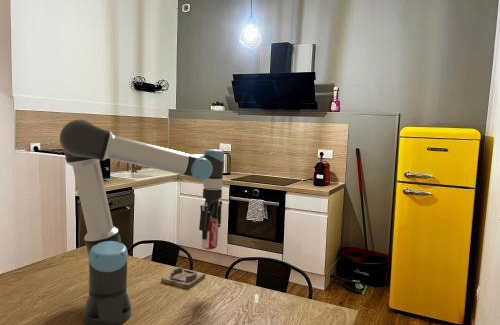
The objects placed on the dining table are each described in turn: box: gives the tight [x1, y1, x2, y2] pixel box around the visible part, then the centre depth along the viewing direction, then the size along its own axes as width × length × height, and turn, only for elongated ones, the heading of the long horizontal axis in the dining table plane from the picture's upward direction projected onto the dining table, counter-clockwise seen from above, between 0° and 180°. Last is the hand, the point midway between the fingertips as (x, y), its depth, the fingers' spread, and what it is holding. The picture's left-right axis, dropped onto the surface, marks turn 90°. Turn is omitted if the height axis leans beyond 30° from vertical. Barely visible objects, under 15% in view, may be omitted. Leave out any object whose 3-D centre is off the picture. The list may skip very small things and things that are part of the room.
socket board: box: [161, 266, 206, 290], centre depth 154 cm, size 13×13×3 cm
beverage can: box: [202, 217, 219, 251], centre depth 149 cm, size 6×6×12 cm
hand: (209, 244), depth 149 cm, fingers closed on beverage can, 6 cm apart
